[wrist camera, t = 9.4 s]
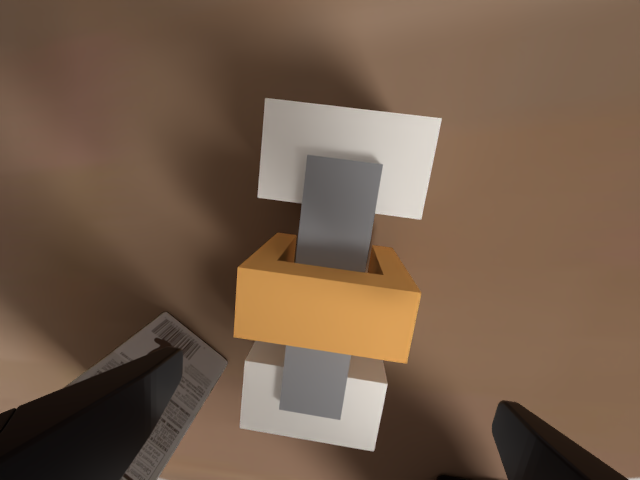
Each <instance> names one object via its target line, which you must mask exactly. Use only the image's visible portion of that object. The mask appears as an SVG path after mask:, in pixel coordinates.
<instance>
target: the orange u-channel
mask: <svg viewBox="0 0 640 480" xmlns="http://www.w3.org/2000/svg"><path fill="white" fill-rule="evenodd" d="M296 239H297V235H292V234H285V233H276V234H275V235H274V236H273V237H272V238H271V239H270V240H268V241H267V242H266V243H265V244H264V245H263V246H261V247H260V248H259V249H258V250H257V251H256V252H255V253H253V254H252V255H251V256H250V257H249V258H248V259H247V260H245V261H244V262H243V263H242V264H241V265H240V266H238V270H237V287H236V304H235V321H234V337H236V338H242V339H249V340H255V341H262V342H268V343H275V344H281V345H288V346H294V347H301V348H308V349H314V350H321V351H327V352H334V353H340V354H347V355H353V356H360V357H366V358H373V359H379V360H386V361H392V362H399V363H406V364H407V360H408V355H409V350H410V346H411V341H412V336H413V331H414V326H415V321H416V317H417V312H418V307H419V302H420V297H421V292H420V290H419V288H418V287H417V285H416V284H415V282H414V281H413V279H412V278H411V276H410V275H409V273H408V271H407V270H406V268H405V267H404V265H403V264H402V262H401V261H400V259H399V258H398V256H397V254H396V253H395V251H394V250H393V248H390V247H382V246H375V245H372V249H371V256H370V262H369V268H368V273H364V272H357V271H350V270H342V269H335V268H328V267H321V266H313V265H306V264H299V263H294V258H295V248H296Z"/></svg>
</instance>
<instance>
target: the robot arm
mask: <svg viewBox="0 0 640 480" xmlns="http://www.w3.org/2000/svg"><path fill="white" fill-rule="evenodd" d="M182 374H183V350H182V349H181V348H177V347H171V346H167V347H165V348H162V349H160V350H157V351H155V352H152V353H150V354H147V355H145V356H142V357H140V358H137V359H135V360H132V361H130V362H127V363H125V364H122V365H120V366H117V367H115V368H112V369H110V370H108V371H105V372H103V373H100V374H98V375H95V376H93V377H90V378H88V379H85V380H83V381H80V382H78V383H75V384H73V385H70V386H68V387H65V388H63V389H60V390H58V391H55V392H53V393H50V394H48V395H45V396H43V397H40V398H38V399H36V400H33V401H31V402H28V403H26V404H23V405H21V406H19V407H18V408H17V409H16V408H13V409H10V410H8V411H6V412H3V413H1V414H0V480H121V478H122V477H123V475H124V474H125V472H126V471H127V469H128V468H129V466H130V465H131V463H132V462H133V460H134V459H135V457H136V456H137V455H138V453H139V452H140V450H141V449H142V447H143V446H144V444H145V443H146V441H147V440H148V438H149V437H150V435H151V433H152V432H153V430H154V428H155V427H156V425H157V423H158V421H159V419H160V418H161V416H162V414H163V412H164V410H165V409H166V407H167V405H168V403H169V401H170V399H171V398H172V396H173V394H174V392H175V390H176V389H177V387H178V385H179V383H180V381H181V379H182ZM492 433H493V437H494V440H495V443H496V446H497V449H498V451H499V454H500V457H501V460H502V463H503V466H504V469H505V472H506V475H507V478H508V480H628V479H627V478H626V477H624V476H623V475H621V474H620V473H618V472H617V471H615V470H614V469H613V468H611V467H610V466H608V465H607V464H605V463H604V462H602V461H601V460H600V459H598V458H597V457H595V456H594V455H592V454H591V453H589V452H588V451H587V450H585V449H584V448H582V447H581V446H579V445H578V444H576V443H575V442H574V441H572V440H571V439H569V438H568V437H566V436H565V435H563V434H562V433H561V432H559V431H558V430H556V429H555V428H553V427H552V426H550V425H549V424H548V423H546V422H545V421H543V420H542V419H540V418H539V417H538V416H536V415H535V414H533V413H532V412H530V411H529V410H527V409H526V408H525V407H523V406H522V405H520V404H519V403H516V402H511V401H505V400H502V401H500V402H499V404H498V407H497V410H496V413H495V417H494V420H493V423H492ZM437 480H466V479H460V478H454V477H449V476H439V477H438V478H437Z"/></svg>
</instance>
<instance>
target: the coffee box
mask: <svg viewBox="0 0 640 480" xmlns="http://www.w3.org/2000/svg"><path fill="white" fill-rule="evenodd" d="M167 346H171V347H177V348H181V349H182V350H183V374H182V379H181V381H180V383H179V385H178V387H177V389H176V390H175V392H174V394H173V396H172V398H171V399H170V401H169V403H168V405H167V407H166V409H165V410H164V412H163V414H162V416H161V418H160V419H159V421H158V423H157V425H156V427H155V428H154V430H153V432H152V433H151V435H150V437H149V438H148V440H147V441H146V443H145V444H144V446H143V447H142V449H141V450H140V452H139V453H138V455H137V456H136V457H135V459H134V460H133V462H132V463H131V465H130V466H129V468H128V469H127V471H126V472H125V474H124V475H123V477H122V478H121V480H157V479H158V477H159V476H160V474H161V472H162V471H163V469H164V467H165V466H166V464H167V463H168V461H169V459H170V458H171V456H172V454H173V453H174V451H175V450H176V448H177V446H178V445H179V443H180V441H181V440H182V438H183V436H184V435H185V433H186V432H187V430H188V428H189V427H190V425H191V423H192V422H193V420H194V418H195V417H196V415H197V414H198V412H199V410H200V409H201V407H202V405H203V404H204V402H205V400H206V399H207V397H208V396H209V394H210V393H211V391H212V389H213V387H214V386H215V384H216V383H217V381H218V379H219V378H220V376H221V374H222V373H223V371H224V369H225V368H226V366H227V364H228V362H227V360H226V359H224V358H223V357H222V356H221V355H220V354H218V353H217V352H216V351H215V350H213V349H212V348H211V347H210V346H208V345H207V344H206V343H205V342H203V341H202V340H201V339H200V338H199V337H197V336H196V335H195V334H194V333H192V332H191V331H190V330H189V329H187V328H186V327H185V326H184V325H182V324H181V323H180V322H178V321H177V320H176V319H175V318H174V317H172V316H171V315H170V314H169V313H167V312H163V313H162V314H161V315H159V316H158V317H157V318H156V319H154V320H153V321H152V322H150V323H149V324H148V325H146V326H145V327H144V328H142V329H141V330H140V331H138V332H137V333H136V334H134V335H133V336H132V337H130V338H129V339H128V340H126V341H125V342H124V343H123V344H121V345H120V346H119V347H117V348H116V349H115V350H113V351H112V352H111V353H109V354H108V355H107V356H105V357H104V358H103V359H101V360H100V361H99V362H97V363H96V364H95V365H93V366H92V367H91V368H90V369H88V370H87V371H85V372H84V373H83V374H81V375H80V376H79V377H77V378H76V379H75V380H73V381H72V382H71V383H69V384H68V385H67V386H66V387H68V386H70V385H73V384H75V383H78V382H80V381H83V380H85V379H88V378H90V377H93V376H95V375H98V374H100V373H103V372H105V371H108V370H110V369H112V368H115V367H117V366H120V365H122V364H125V363H127V362H130V361H132V360H135V359H137V358H140V357H142V356H145V355H147V354H150V353H152V352H155V351H157V350H160V349H162V348H165V347H167ZM64 388H65V387H64Z"/></svg>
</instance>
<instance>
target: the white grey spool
mask: <svg viewBox="0 0 640 480" xmlns="http://www.w3.org/2000/svg"><path fill="white" fill-rule="evenodd" d="M441 120H442V118H433V117H425V116H416V115H408V114H399V113H391V112H382V111H373V110H365V109H356V108H348V107H339V106H331V105H322V104H314V103H305V102H296V101H288V100H279V99H271V98H265V107H264V120H263V133H262V146H261V159H260V171H259V184H258V197H257V198H264V199H271V200H279V201H286V202H294V203H301V204H302V207H301V216H300V225H299V233H298V242H297V251H296V260H295V263H299V264H306V265H313V266H321V267H328V268H335V269H342V270H350V271H357V272H364V273H365V269H366V263H367V257H368V251H369V245H370V240H371V234H372V228H373V222H374V216H375V214H383V215H390V216H398V217H405V218H413V219H420V220H421V218H422V213H423V208H424V203H425V199H426V194H427V189H428V184H429V179H430V174H431V169H432V164H433V159H434V154H435V149H436V145H437V140H438V135H439V130H440V125H441ZM387 385H388V383H387V378H386V373H385V368H384V363H383V360H379V359H373V358H366V357H360V356H353V355H347V354H340V353H334V352H327V351H321V350H314V349H308V348H301V347H294V346H288V345H281V344H275V343H268V342H262V341H255V343H254V344H253V346H252V348H251V350H250V352H249V354H248V356H247V357H246V359H245V365H244V378H243V391H242V403H241V416H240V428H242V429H248V430H253V431H259V432H265V433H271V434H276V435H282V436H288V437H293V438H299V439H305V440H311V441H316V442H322V443H328V444H333V445H339V446H345V447H350V448H356V449H362V450H368V451H373V452H374V449H375V444H376V439H377V434H378V429H379V424H380V420H381V415H382V410H383V405H384V400H385V395H386V390H387Z"/></svg>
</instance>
